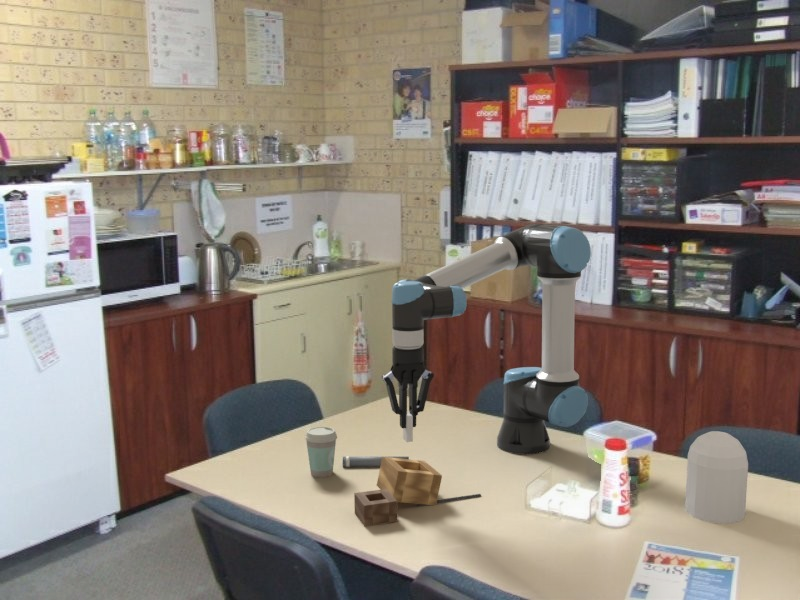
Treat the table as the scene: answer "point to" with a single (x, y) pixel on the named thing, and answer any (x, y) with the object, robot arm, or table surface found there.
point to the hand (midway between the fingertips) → (408, 440)
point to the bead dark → (375, 507)
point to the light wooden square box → (409, 480)
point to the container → (716, 478)
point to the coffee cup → (321, 450)
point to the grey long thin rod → (455, 498)
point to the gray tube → (364, 461)
